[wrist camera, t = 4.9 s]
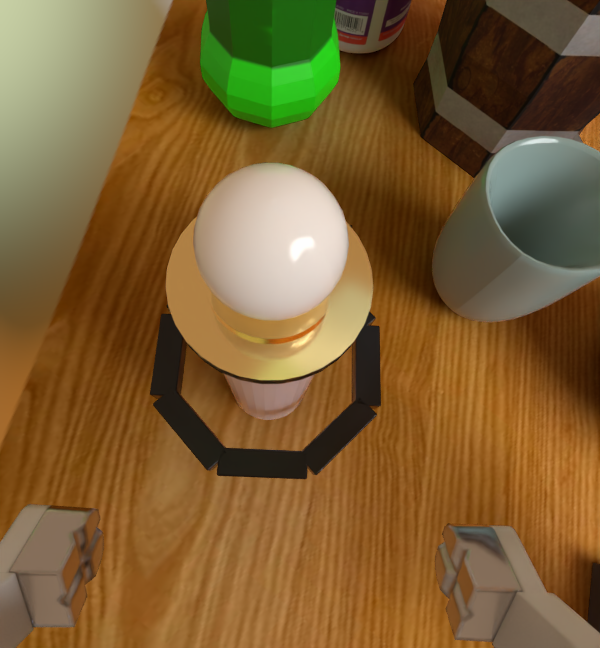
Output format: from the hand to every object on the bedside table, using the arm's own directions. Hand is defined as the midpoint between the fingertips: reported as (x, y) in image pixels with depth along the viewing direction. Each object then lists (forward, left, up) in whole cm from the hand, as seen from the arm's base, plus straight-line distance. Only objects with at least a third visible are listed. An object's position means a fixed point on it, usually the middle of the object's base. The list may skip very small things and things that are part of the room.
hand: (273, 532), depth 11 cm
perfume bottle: (+6, +2, -16) cm, 18 cm away
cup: (+17, -9, -16) cm, 25 cm away
